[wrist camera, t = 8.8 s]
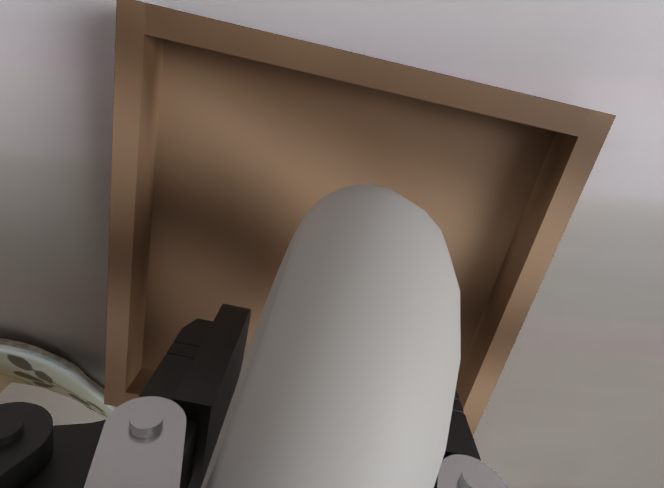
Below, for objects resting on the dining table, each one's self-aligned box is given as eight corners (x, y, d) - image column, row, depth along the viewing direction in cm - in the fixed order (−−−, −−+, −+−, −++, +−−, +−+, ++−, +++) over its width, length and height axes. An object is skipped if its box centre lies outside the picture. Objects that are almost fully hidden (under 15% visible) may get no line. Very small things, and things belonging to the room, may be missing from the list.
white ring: (318, 412, 17) (279, 826, 8) (233, 382, 17) (83, 779, 7) (436, 175, 13) (630, 408, 4) (332, 131, 13) (284, 278, 4)
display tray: (153, 7, 14) (116, -5, 12) (574, 108, 15) (615, 115, 13) (132, 364, 20) (103, 404, 17) (444, 426, 21) (456, 471, 18)
